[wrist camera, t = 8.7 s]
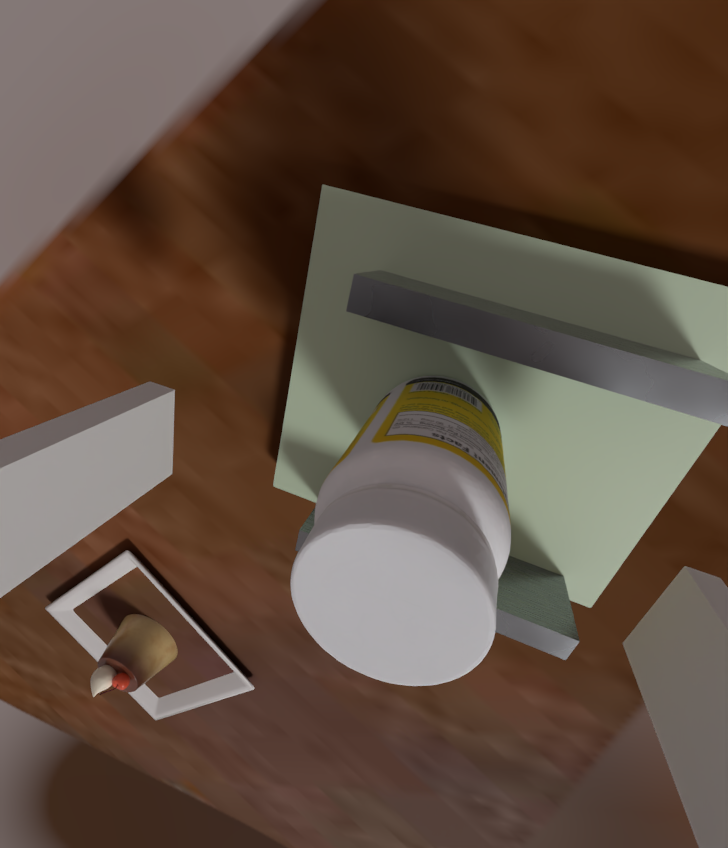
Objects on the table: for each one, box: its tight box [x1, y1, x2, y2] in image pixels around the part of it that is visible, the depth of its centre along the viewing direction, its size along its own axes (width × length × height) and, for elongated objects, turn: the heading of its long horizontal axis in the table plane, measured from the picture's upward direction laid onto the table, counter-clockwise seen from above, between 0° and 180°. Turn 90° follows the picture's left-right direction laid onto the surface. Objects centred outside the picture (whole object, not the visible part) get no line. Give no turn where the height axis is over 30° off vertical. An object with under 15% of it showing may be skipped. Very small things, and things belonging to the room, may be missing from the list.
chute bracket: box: [296, 270, 728, 660], centre depth 13 cm, size 10×10×3 cm
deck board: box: [273, 184, 728, 608], centre depth 15 cm, size 14×12×1 cm
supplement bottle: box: [291, 376, 511, 686], centre depth 11 cm, size 5×5×8 cm
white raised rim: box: [45, 550, 254, 720], centre depth 26 cm, size 12×12×5 cm
